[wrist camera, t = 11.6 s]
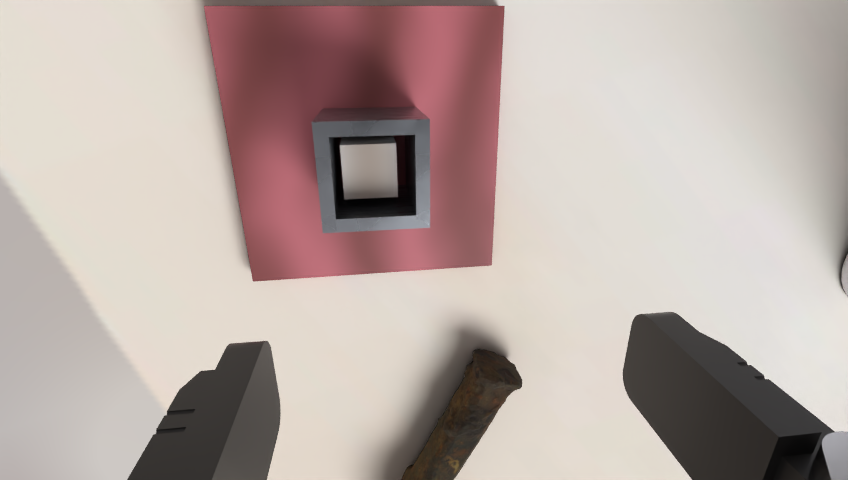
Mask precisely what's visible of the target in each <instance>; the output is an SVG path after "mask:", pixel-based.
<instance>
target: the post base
mask: <svg viewBox="0 0 848 480" xmlns="http://www.w3.org/2000/svg"><path fill="white" fill-rule="evenodd" d="M204 9H205V15H206V20H207V26H208V32H209V37H210V43H211V48H212V54H213V60H214V65H215V71H216V76H217V82H218V88H219V93H220V99H221V105H222V110H223V116H224V121H225V127H226V133H227V138H228V144H229V149H230V155H231V161H232V166H233V172H234V177H235V183H236V189H237V194H238V200H239V206H240V211H241V217H242V222H243V228H244V234H245V239H246V245H247V250H248V256H249V262H250V267H251V273H252V279H253V281H267V280H281V279H296V278H311V277H326V276H341V275H355V274H370V273H385V272H400V271H415V270H429V269H444V268H459V267H474V266H489V265H492V247H493V227H494V206H495V186H496V166H497V146H498V126H499V105H500V85H501V65H502V45H503V25H504V6H204ZM374 107H417V108H418V109H419V110H420V111H421V112H422V113H424V114H425V115H426V116H427V117H428V118H429V119H430V228H416V229H396V230H377V231H358V232H339V233H323V231H322V221H321V211H320V201H319V191H318V181H317V171H316V161H315V152H314V142H313V132H312V121H313V120H314V118H315V117H316V116H317V115H318V114H319V112H320V111H321V110H322V109H326V108H374ZM337 139H338V152H339V164H340V177H341V187H343V189H344V199H363V198H384V197H398V185H406V169H405V135H391V136H355V137H337Z"/></svg>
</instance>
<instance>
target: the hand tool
mask: <svg viewBox="0 0 848 480" xmlns="http://www.w3.org/2000/svg"><path fill="white" fill-rule="evenodd" d="M473 360H474V361H473V363H470V364H469V365H467V367H466V372H465V373H464V374H465V377H464V379H463V381H462V383H461V385H460V387H459V388H458V390H457V391H456V392H455V394H454V395H453V397H452V399H451V401H450V403H449V406H448V408H447V410H446V411H445V413H444V414H443V416H442V417H441V418H440V419H438V424H437V426H436V427H435V429H434V431H433V432H432V434H431V436H430V438H429V440H428V442H427V444H426V445H425V447H424V449H423V450H422V452H421V454H420V455H419V457H418V459H417V460H416V462H415V464H414V465H411V466H409V467H407V469H406V471H405V473H404V475H403V477H402V480H453V479H454V478H455V477H456V476H457V474H458V473H459V471H460V470H461V468H462V467H463V465H464V464H465V462H466V460H467V459H468V457H469V456H470V455H471V453H472V451H473V450H474V449H475V447H476V445H477V444H478V442H479V441H480V439H481V437H482V436H483V434H484V433H485V431H486V430H487V428H488V426H489V425H490V423H491V422H492V420H493V419H494V417H495V415H496V413H497V412H498V410H499V408H500V407H501V406H502V404H503V403H504V402H505V401H506V398H507V397H508V396H509V395H510V394H511V393H512V392H513V391H514V390H517V389H520V388H521V387H522V379H521V377H520V375H519V373H518V371H517V370H516V367H515V365H514V364H513V363H511V362H510V361H508V359H507V358H505V357H503V356H500V355H497V354H496V353H494V352H491V351H487V350H481V349H477V350H474V352H473Z"/></svg>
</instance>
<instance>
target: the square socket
mask: <svg viewBox="0 0 848 480" xmlns="http://www.w3.org/2000/svg"><path fill="white" fill-rule="evenodd" d="M312 132H313V142H314V152H315V161H316V171H317V181H318V191H319V201H320V211H321V221H322V231H323V233H339V232H358V231H377V230H396V229H416V228H430V119H429V118H428V117H427V116H426V115H425V114H424V113H422V112H421V111H420V110H419V109H418V108H417V107H374V108H326V109H322V110H321V111H320V112H319V114H318V115H317V116H316V117H315V118H314V120H313V121H312ZM391 135H405V169H406V185H398V197H384V198H363V199H344V189H343V187H341V177H340V164H339V152H338V139H337V137H355V136H391Z"/></svg>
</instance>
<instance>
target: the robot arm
mask: <svg viewBox="0 0 848 480" xmlns="http://www.w3.org/2000/svg"><path fill="white" fill-rule="evenodd" d="M841 280H842V285H843V289H844V291H845V293H846V294H847V296H848V254H847V256H846V259H845V261H844V265H843V269H842V279H841ZM623 381H624V386H625V389H626V392H627V394H628V396H629V398H630V400H631V401H632V402H633V404H634V405H635V406H636V407H637V409H638V410H639V411H640V413H641V414H642V415H643V417H644V418H645V419H646V420H647V422H648V423H649V424H650V426H651V427H652V428H653V429H654V431H655V432H656V433H657V435H658V436H659V437H660V439H661V440H662V441H663V442H664V444H665V445H666V446H667V448H668V449H669V450H670V451H671V453H672V454H673V455H674V457H675V458H676V459H677V461H678V462H679V463H680V464H681V466H682V467H683V468H684V470H685V471H686V472H687V473H688V475H689V476H690V477H691V479H692V480H848V432H843V431H841V432H834V431H833V430H832V429H831V428H829V427H828V426H827V425H826V424H824V423H823V422H822V421H821V420H819V419H818V418H817V417H816V416H814V415H813V414H812V413H810V412H809V411H808V410H807V409H805V408H804V407H803V406H802V405H800V404H799V403H798V402H797V401H795V400H794V399H793V398H792V397H790V396H789V395H788V394H787V393H785V392H784V391H783V390H782V389H780V388H779V387H778V386H777V385H775V384H774V383H773V382H771V381H770V380H769V379H766V380H765V378H764V375H763V374H761V373H760V372H759V371H758V370H756V369H755V368H754V367H753V366H751V365H747V362H746V361H745V360H744V359H743V358H741V357H740V356H739V355H738V354H736V353H735V352H734V351H732V350H731V349H730V348H729V347H727V346H726V345H724V344H722V343H720V342H718V341H716V340H714V339H712V338H710V337H708V336H706V335H704V334H702V333H700V332H699V331H697V330H696V329H695V328H694V327H693V326H691V325H690V324H689V323H688V322H686V321H685V320H684V319H683V318H682V317H680V316H679V315H678V314H676V313H674V312H664V313H651V314H639V315H637V316H636V317H635V318H634V320H633V322H632V326H631V331H630V336H629V342H628V347H627V352H626V358H625V363H624V368H623ZM279 425H280V399H279V393H278V387H277V381H276V375H275V369H274V363H273V357H272V351H271V347H270V344H269V342H268V341H260V342H246V343H233V344H229V345H228V346H227V347H226V349H225V351H224V353H223V355H222V357H221V359H220V361H219V363H218V365H217V367H216V369H215V370H208V371H200V372H199V373H198V374H197V375H196V376H195V377H194V378H192V379H191V380H190V381H189V382H188V383H187V384H186V385H184V386H183V387H182V388H181V389H180V390H179V392H178V393H177V395H176V397H175V398H174V400H173V402H172V404H171V405H170V407H169V409H168V411H167V416H164V418H163V419H162V421H161V423H160V424H159V426H158V428H157V430H156V431H157V432H156V434H155V435H153V437H152V438H151V440H150V442H149V443H148V445H147V447H146V448H145V450H144V452H143V454H142V455H141V457H140V459H139V460H138V462H137V464H136V466H135V467H134V469H133V471H132V472H131V474H130V476H129V478H128V480H267V476H268V472H269V468H270V464H271V460H272V456H273V452H274V448H275V444H276V439H277V435H278V431H279Z"/></svg>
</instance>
